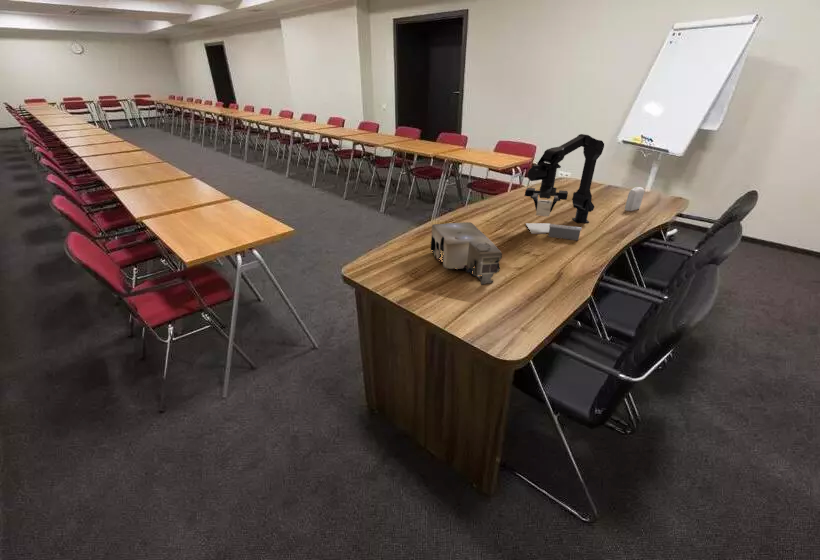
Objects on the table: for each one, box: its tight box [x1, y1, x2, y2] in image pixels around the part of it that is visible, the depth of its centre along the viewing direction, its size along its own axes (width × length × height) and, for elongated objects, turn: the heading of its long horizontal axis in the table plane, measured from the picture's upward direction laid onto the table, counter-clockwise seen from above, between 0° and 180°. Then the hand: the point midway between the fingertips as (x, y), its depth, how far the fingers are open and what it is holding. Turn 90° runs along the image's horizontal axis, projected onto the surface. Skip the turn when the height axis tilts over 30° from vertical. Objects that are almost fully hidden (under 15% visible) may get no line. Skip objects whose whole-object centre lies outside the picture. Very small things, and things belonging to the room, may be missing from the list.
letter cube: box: [535, 199, 553, 218], centre depth 181 cm, size 6×6×6 cm
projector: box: [430, 221, 503, 286], centre depth 147 cm, size 18×33×13 cm, turn 11°
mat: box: [525, 222, 551, 234], centre depth 186 cm, size 12×12×1 cm
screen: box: [548, 223, 582, 241], centre depth 174 cm, size 3×14×6 cm, turn 67°
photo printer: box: [624, 186, 645, 212], centre depth 209 cm, size 10×4×12 cm, turn 123°
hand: (543, 211), depth 182 cm, fingers closed on letter cube, 6 cm apart
